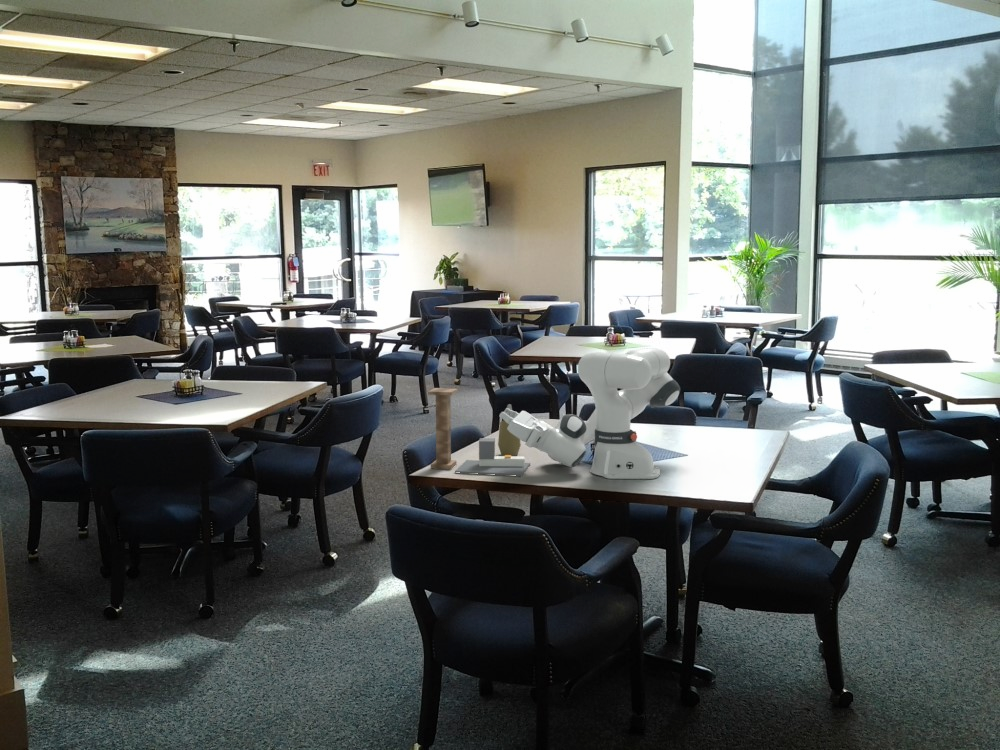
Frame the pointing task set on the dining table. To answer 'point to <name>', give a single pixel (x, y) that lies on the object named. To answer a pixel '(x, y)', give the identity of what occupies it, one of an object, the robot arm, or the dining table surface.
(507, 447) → the squeeze bottle
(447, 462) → the walnut stand
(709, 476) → the dining table surface
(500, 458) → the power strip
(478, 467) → the grey flat rectangular slab
